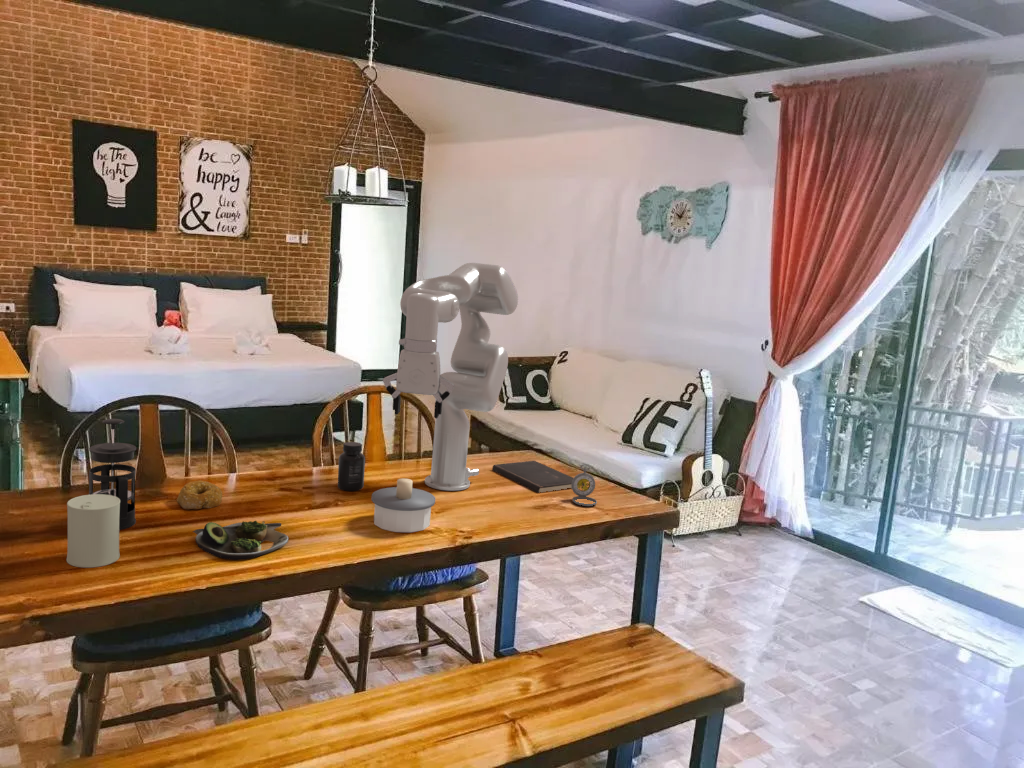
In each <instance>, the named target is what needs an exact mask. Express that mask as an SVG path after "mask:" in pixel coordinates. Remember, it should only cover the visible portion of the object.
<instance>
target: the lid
mask: <svg viewBox="0 0 1024 768" xmlns="http://www.w3.org/2000/svg"><path fill="white" fill-rule="evenodd" d="M396 481H397V482H396V486H394V487H393V486H392V487H386V488H385V487H383V488H380V489H376V490H375V491H373V493H372V494H371V502H372V503H373V504H374V505H375V504H376V505H378V506H380V507H383V508H387V509H392V510H399V511H417V510H423V509H427V508H430V507H431V508H432V507H433V506H435V504H436V496H434V495H433V494H432V493H430V492H429V491H426V490H423V489H419V488H414V487H413V482H414V481H413V480H412V479H410V478H403V477H402V478H397V480H396Z"/></svg>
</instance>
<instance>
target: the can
mask: <svg viewBox="0 0 1024 768" xmlns="http://www.w3.org/2000/svg"><path fill="white" fill-rule="evenodd" d="M66 506H67V507H66V509H67V510H66V511H67V550H66V551H67V555H66V563H67V564H68V565H70V566H73V567H77V568H87V569H88V568H99V567H104V566H107V565H108V566H109V565H111V564H114V563H115V562H117V561H118V560H119V558H120V557H121V555H120V530H119V513H120V499H119V498H118V497H115V496H112V495H105V494H91V495H89V494H84V495H79V496H76V497H73V498H71V499H69V500H68V501H67V502H66Z"/></svg>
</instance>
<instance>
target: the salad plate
mask: <svg viewBox="0 0 1024 768" xmlns="http://www.w3.org/2000/svg"><path fill="white" fill-rule="evenodd" d="M280 527H282V523H281V522H273V523H272V522H271V523H266V521H265V520H263V521H262V522H261V523H260V522H258V521H257V520H254V521H241V522H236V523H233V524H228V525H225V526H222V525H220V524H218V523H217V522H213V521H212V522H211V521H209V522H207V523H206V524H205V525H204V527H203V528H198V529H195V530H193V531H192V533H195V535H196V536H195V543H196V545H197V546H198V548H199V549H200V550H202V551H204V552H206V553H207V554H210V555H212V556H214V557H216V558H220V559H223V560H224V559H225V560H230V561H232V560H233V561H242V560H243V561H244V560H250V559H255V558H258V557H260V556H263V555H266V554H268V553H269V554H270V553H272V552H273V551H276V550H277V549H280V548H282V547H284V546H285V545H287V544H288V542H289V536H288V535H286V534H285V533H283V532H279V531H277V530H276V529H277V528H280ZM265 541H266V542H269V543H270V542H271V543H272V546H271V547H270V548H267V549H264V550H262V544H261V543H263V542H265Z"/></svg>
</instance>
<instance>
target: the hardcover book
mask: <svg viewBox="0 0 1024 768" xmlns="http://www.w3.org/2000/svg"><path fill="white" fill-rule="evenodd" d="M491 469H492V471H493V472H495V473H496V474H498V475H501V476H503V477H505V478H507V479H509V480H511V481H513V482H515V483H517V484H518V485H521V486H523V487H525V488H527V489H529V490H531V491H533V492H535V493H537V494H540V492H541V493H546V491H548V492H556V491H562V490H561V489H564V490H568V489H567V488H571V489H572V487H571V484H572V480H573V478H574V476H570V475H568V474H566V473H564V472H561V471H559V470H556V469H554V468H553V467H551V466H548V465H545V464H543V463H540V462H538V461H536V460H528V461H518V462H516V461H515V462H509V463H499V464H496V463H495V464H493V465H492V468H491ZM578 487H579V486H578ZM553 490H554V491H553ZM555 490H556V491H555Z"/></svg>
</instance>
